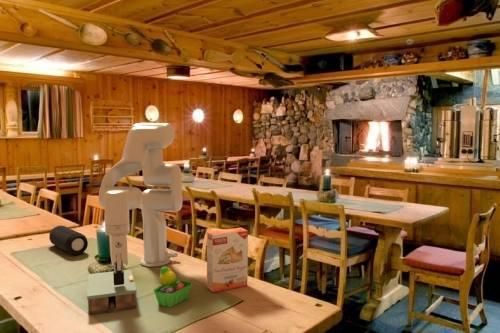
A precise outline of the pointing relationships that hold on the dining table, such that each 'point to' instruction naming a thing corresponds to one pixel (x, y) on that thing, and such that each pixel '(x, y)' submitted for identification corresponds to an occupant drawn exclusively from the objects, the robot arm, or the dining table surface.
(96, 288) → the cover
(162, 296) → the green plastic basket
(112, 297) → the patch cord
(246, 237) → the cracker box
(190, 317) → the dining table surface
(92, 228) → the dining table surface
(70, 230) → the portable speaker
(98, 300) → the brown brick base
